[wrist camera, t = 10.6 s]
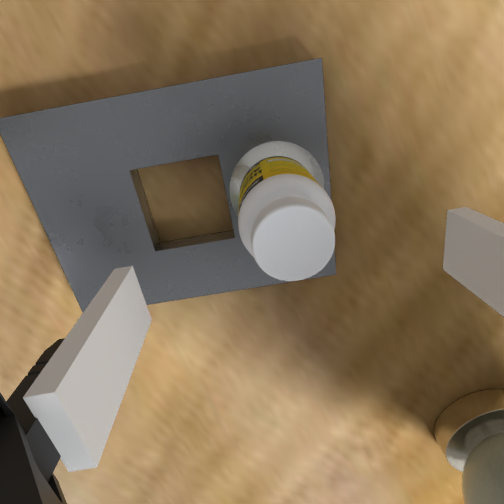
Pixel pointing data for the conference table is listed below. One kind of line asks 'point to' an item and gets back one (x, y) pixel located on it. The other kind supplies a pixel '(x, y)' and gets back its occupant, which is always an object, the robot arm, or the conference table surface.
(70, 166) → the housing plate
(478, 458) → the lamp
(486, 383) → the conference table surface
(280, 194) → the supplement bottle
